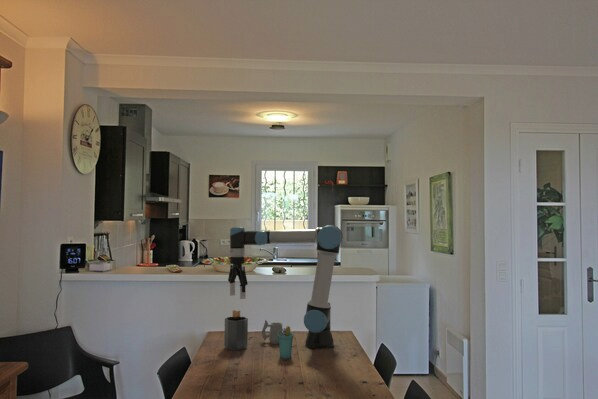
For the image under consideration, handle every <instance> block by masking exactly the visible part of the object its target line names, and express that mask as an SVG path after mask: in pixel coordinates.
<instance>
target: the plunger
mask: <svg viewBox="0 0 598 399" xmlns="http://www.w3.org/2000/svg"><path fill="white" fill-rule="evenodd" d="M232 317H233V318H232V320H234V321H238V320H240V317H241V310H239V309H236V310H232Z"/></svg>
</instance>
